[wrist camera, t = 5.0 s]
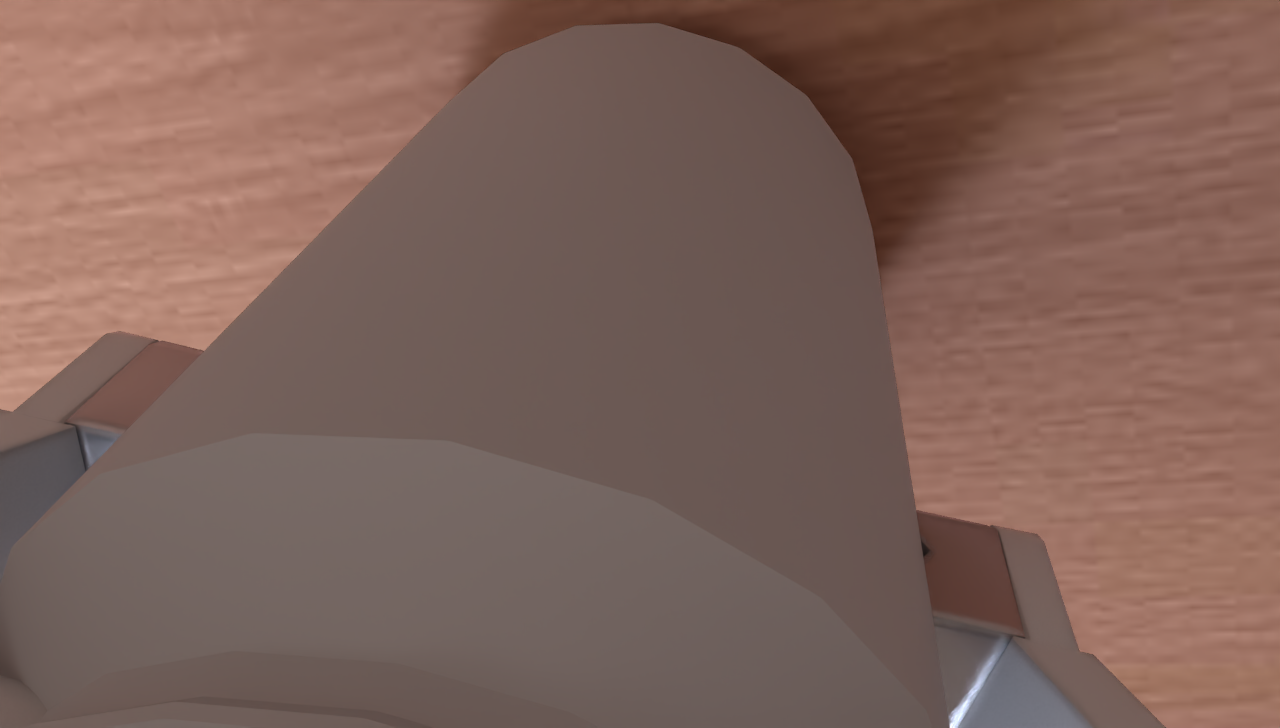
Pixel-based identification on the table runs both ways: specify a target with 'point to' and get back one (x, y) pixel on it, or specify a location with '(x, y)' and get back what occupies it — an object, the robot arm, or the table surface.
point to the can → (523, 441)
